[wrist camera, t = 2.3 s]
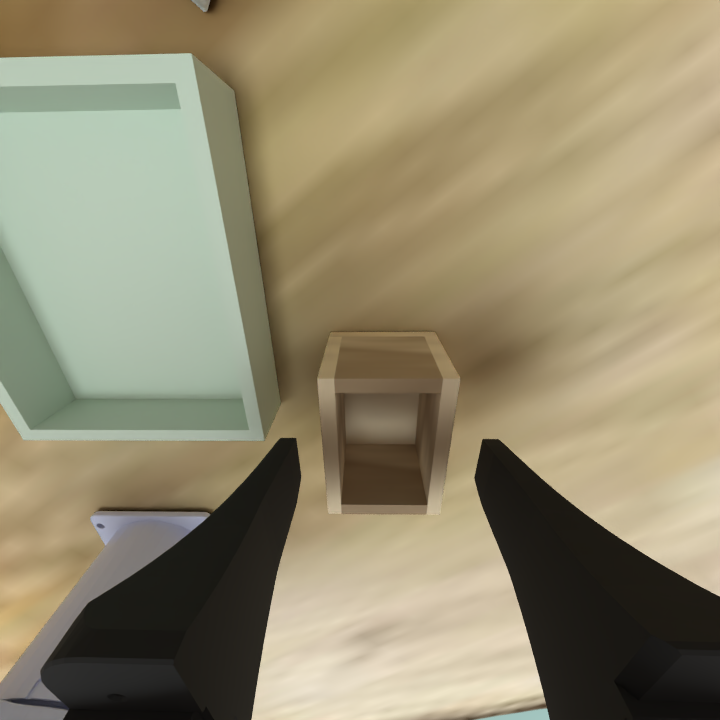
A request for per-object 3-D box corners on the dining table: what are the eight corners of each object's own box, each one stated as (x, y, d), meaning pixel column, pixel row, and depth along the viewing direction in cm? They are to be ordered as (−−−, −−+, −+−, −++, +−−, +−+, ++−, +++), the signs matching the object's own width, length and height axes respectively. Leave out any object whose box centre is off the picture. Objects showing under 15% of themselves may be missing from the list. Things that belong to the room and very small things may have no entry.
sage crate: (280, 403, 17) (264, 441, 14) (77, 403, 17) (23, 440, 14) (234, 90, 11) (190, 52, 8) (-75, 97, 11) (-214, 62, 9)
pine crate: (423, 445, 18) (439, 514, 14) (336, 444, 18) (328, 513, 14) (434, 331, 15) (460, 378, 11) (330, 332, 15) (316, 378, 11)
